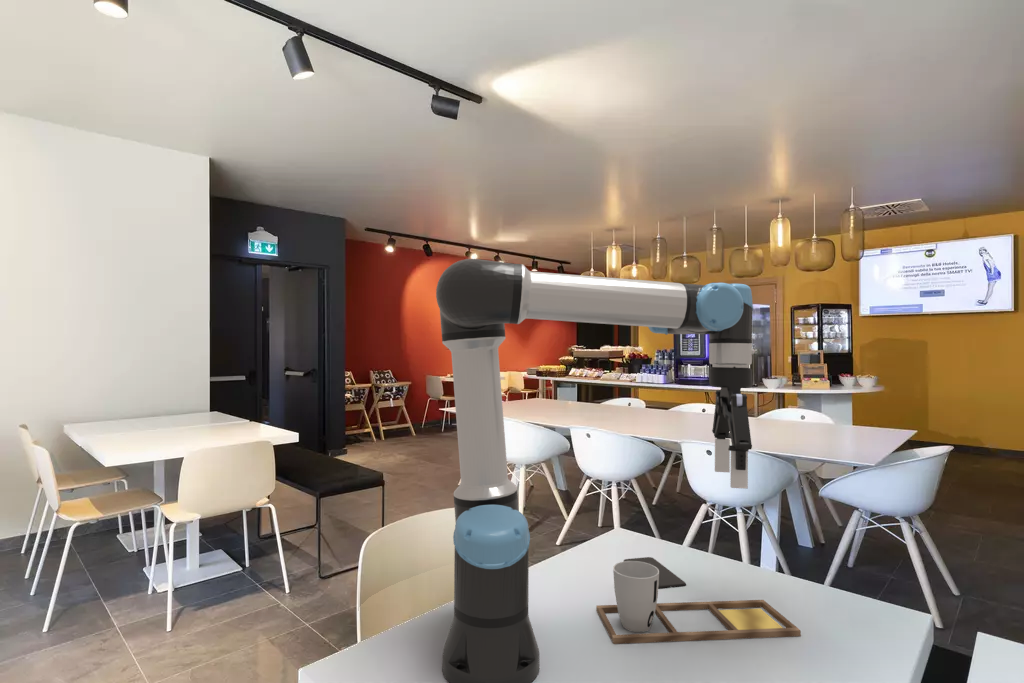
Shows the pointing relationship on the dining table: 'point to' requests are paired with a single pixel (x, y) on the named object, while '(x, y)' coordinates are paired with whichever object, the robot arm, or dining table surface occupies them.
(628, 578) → the cup
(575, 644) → the dining table surface
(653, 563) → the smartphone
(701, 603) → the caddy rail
